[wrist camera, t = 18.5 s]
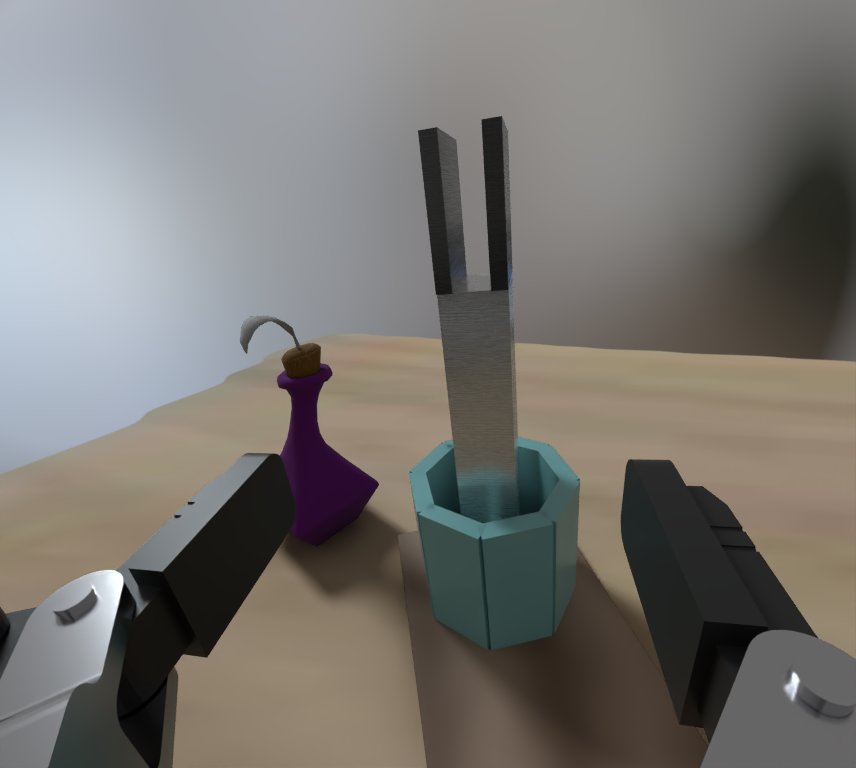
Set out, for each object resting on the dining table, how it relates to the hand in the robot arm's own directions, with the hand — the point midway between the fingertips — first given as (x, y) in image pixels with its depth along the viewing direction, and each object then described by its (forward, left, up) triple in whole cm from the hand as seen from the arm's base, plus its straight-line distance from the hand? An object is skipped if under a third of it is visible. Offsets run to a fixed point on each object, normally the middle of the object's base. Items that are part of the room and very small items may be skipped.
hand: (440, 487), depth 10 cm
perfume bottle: (-8, +21, -18) cm, 29 cm away
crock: (+4, +11, -17) cm, 20 cm away
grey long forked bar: (+4, +11, -16) cm, 19 cm away
